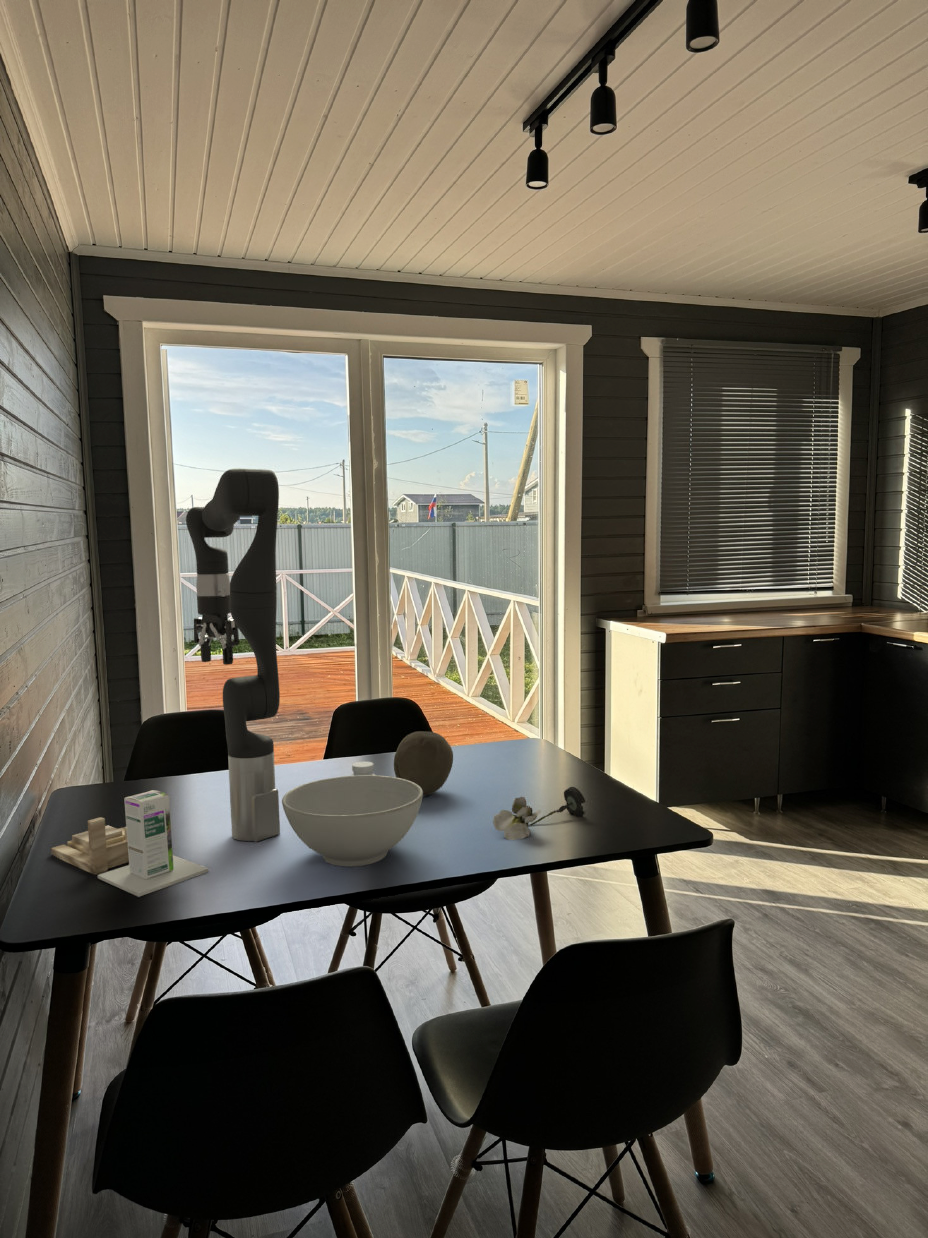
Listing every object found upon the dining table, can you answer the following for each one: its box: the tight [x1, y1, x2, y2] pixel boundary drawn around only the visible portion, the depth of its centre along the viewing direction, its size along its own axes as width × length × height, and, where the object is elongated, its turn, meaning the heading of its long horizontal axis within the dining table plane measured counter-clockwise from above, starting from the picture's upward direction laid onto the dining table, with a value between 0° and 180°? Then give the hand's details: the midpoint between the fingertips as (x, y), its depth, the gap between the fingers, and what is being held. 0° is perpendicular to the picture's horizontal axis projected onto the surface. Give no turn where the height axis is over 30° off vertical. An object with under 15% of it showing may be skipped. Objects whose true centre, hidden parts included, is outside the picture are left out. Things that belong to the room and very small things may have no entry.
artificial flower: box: [492, 786, 586, 841], centre depth 178 cm, size 9×22×10 cm, turn 125°
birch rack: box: [50, 816, 129, 876], centre depth 168 cm, size 17×15×10 cm
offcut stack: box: [66, 824, 125, 852], centre depth 171 cm, size 7×9×3 cm
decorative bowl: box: [281, 774, 424, 868], centre depth 164 cm, size 27×27×12 cm
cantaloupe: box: [393, 730, 454, 797], centre depth 203 cm, size 14×14×15 cm
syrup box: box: [124, 789, 174, 880], centre depth 156 cm, size 6×6×14 cm
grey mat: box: [97, 854, 210, 898], centre depth 156 cm, size 14×14×1 cm
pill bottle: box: [350, 761, 376, 776], centre depth 188 cm, size 6×6×12 cm
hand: (217, 663), depth 198 cm, fingers open, 8 cm apart
